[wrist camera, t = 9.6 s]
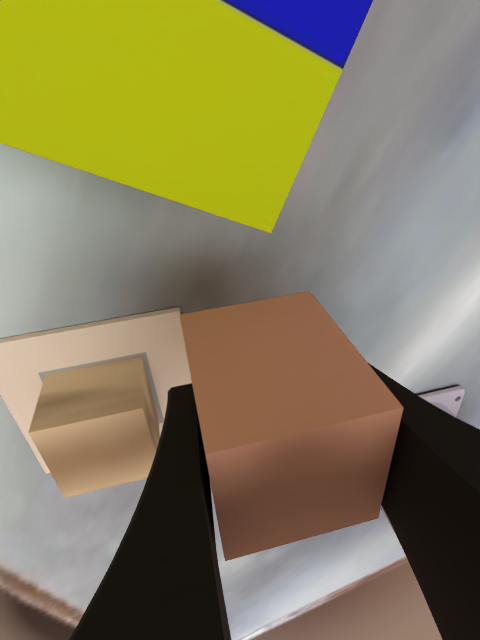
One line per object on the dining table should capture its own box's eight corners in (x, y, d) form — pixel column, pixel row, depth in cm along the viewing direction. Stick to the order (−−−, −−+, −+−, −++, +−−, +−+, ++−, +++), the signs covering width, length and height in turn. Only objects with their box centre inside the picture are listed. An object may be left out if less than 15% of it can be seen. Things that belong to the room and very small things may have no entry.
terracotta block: (306, 387, 14) (377, 518, 10) (197, 411, 13) (225, 561, 9) (309, 291, 12) (403, 407, 8) (179, 314, 11) (205, 454, 7)
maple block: (158, 418, 24) (162, 474, 20) (74, 437, 23) (64, 497, 20) (141, 355, 21) (142, 408, 18) (45, 374, 20) (28, 432, 17)
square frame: (202, 432, 26) (203, 437, 26) (47, 468, 24) (45, 474, 24) (179, 306, 20) (179, 310, 20) (-24, 342, 19) (-27, 347, 19)
